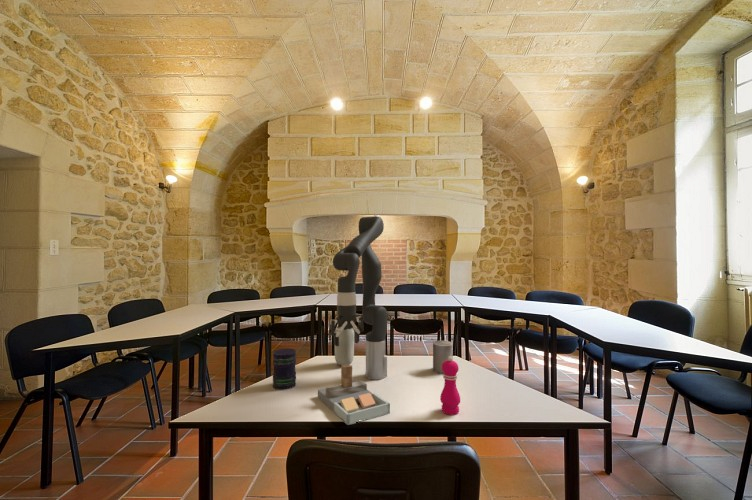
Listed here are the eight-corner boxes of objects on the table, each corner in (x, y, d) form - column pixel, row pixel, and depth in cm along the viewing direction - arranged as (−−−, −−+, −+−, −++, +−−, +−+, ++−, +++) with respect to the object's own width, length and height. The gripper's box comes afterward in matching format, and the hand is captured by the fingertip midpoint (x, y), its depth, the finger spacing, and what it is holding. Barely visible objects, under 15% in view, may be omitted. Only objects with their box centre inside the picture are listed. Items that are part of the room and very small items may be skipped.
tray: (374, 402, 135) (374, 393, 135) (389, 413, 125) (389, 403, 125) (334, 412, 126) (334, 402, 126) (347, 425, 116) (347, 414, 116)
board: (355, 388, 148) (355, 381, 148) (374, 402, 135) (374, 394, 135) (317, 396, 139) (317, 389, 139) (334, 412, 126) (334, 404, 126)
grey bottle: (332, 367, 176) (332, 312, 176) (338, 361, 186) (338, 309, 186) (351, 368, 174) (351, 312, 174) (355, 362, 184) (356, 309, 185)
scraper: (361, 386, 142) (361, 361, 142) (366, 390, 139) (366, 363, 139) (325, 395, 134) (325, 367, 134) (330, 398, 131) (330, 370, 131)
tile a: (369, 395, 133) (370, 392, 133) (374, 406, 130) (375, 403, 129) (357, 398, 131) (358, 395, 130) (363, 409, 127) (364, 406, 126)
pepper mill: (456, 417, 122) (456, 360, 122) (437, 412, 126) (437, 357, 126) (463, 409, 128) (462, 355, 128) (444, 405, 132) (444, 352, 132)
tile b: (352, 399, 130) (353, 396, 129) (357, 410, 126) (358, 407, 125) (340, 402, 127) (341, 399, 126) (345, 413, 123) (346, 411, 123)
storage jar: (278, 391, 145) (279, 356, 145) (268, 385, 152) (268, 351, 152) (300, 385, 151) (300, 351, 151) (289, 379, 159) (289, 347, 159)
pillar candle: (432, 366, 177) (432, 337, 177) (452, 367, 176) (452, 338, 176) (433, 373, 167) (433, 342, 167) (453, 374, 166) (453, 343, 166)
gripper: (357, 300, 144) (358, 340, 143) (326, 303, 136) (326, 344, 136) (366, 303, 137) (367, 344, 137) (334, 306, 130) (334, 349, 130)
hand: (346, 344), depth 137 cm, fingers open, 8 cm apart
